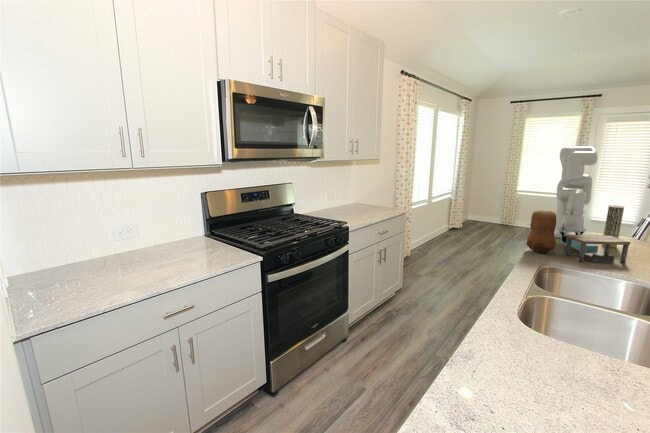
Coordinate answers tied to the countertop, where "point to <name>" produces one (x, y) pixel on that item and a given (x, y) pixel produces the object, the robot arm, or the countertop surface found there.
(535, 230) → the butternut squash
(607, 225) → the brown bark cylinder
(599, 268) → the countertop surface
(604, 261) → the small wooden table
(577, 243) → the teal u-channel piece
